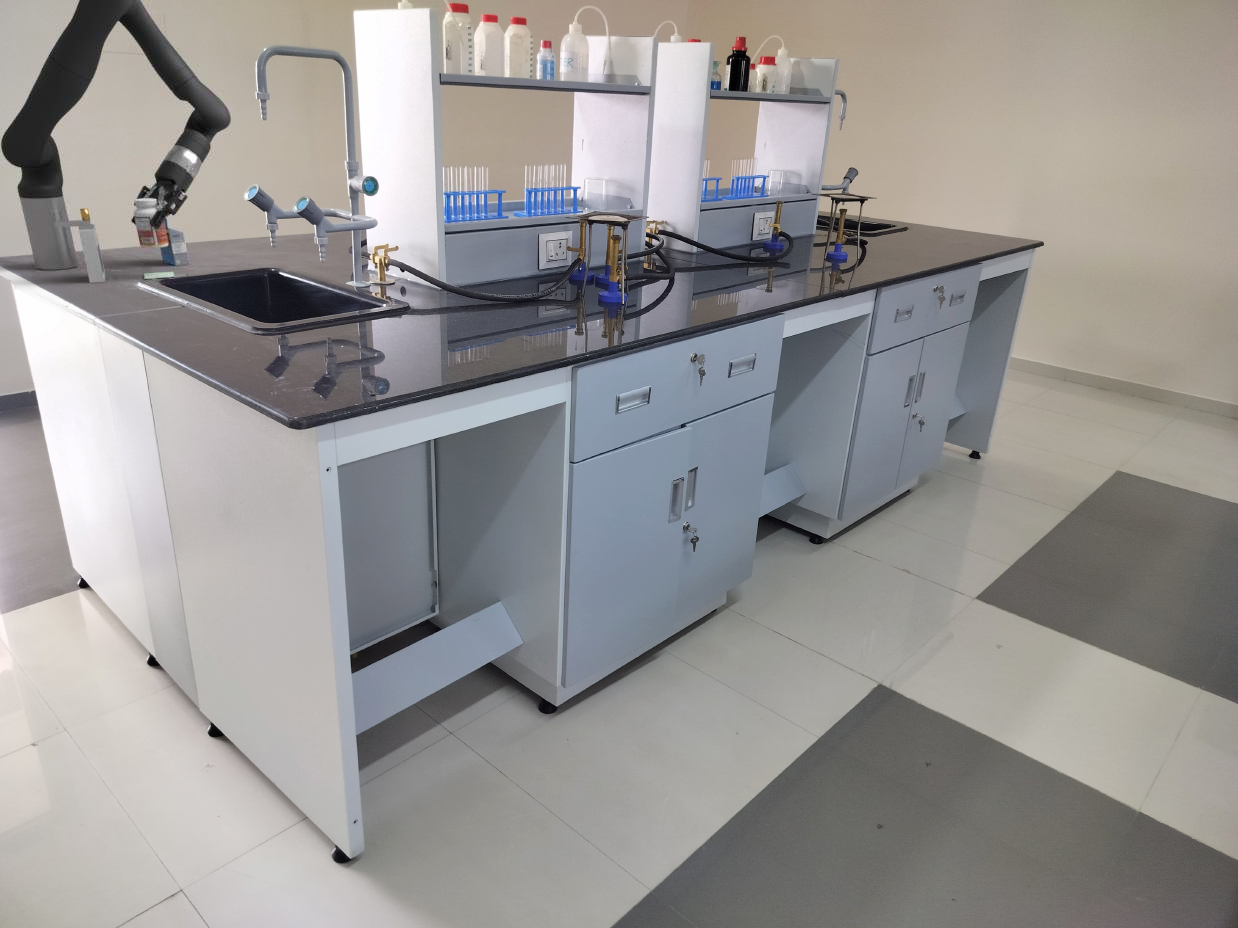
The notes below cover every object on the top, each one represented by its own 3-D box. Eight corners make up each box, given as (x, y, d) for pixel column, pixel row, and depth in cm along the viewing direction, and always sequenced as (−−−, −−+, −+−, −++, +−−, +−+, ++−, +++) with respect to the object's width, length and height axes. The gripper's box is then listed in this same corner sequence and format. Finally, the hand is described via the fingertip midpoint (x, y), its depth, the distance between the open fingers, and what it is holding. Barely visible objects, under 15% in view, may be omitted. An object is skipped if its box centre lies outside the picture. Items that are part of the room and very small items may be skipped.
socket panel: (91, 275, 210) (80, 222, 205) (105, 275, 212) (94, 221, 207) (89, 282, 203) (78, 227, 198) (105, 281, 204) (93, 226, 199)
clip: (56, 226, 199) (52, 209, 197) (91, 225, 202) (88, 208, 200) (55, 227, 198) (51, 210, 196) (91, 226, 201) (87, 209, 199)
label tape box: (190, 264, 227) (182, 216, 222) (174, 266, 224) (165, 218, 219) (176, 260, 233) (168, 213, 228) (161, 261, 230) (152, 214, 225)
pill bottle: (165, 243, 213) (156, 197, 209) (171, 247, 209) (163, 200, 204) (137, 246, 209) (128, 198, 205) (143, 249, 205) (134, 201, 201)
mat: (144, 275, 213) (144, 273, 213) (173, 273, 216) (173, 271, 216) (144, 280, 208) (144, 278, 208) (174, 278, 211) (174, 276, 210)
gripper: (147, 157, 210) (112, 212, 205) (187, 160, 204) (151, 217, 199) (171, 178, 217) (137, 232, 212) (210, 182, 211) (176, 237, 206)
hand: (144, 225), depth 206 cm, fingers closed on pill bottle, 6 cm apart
